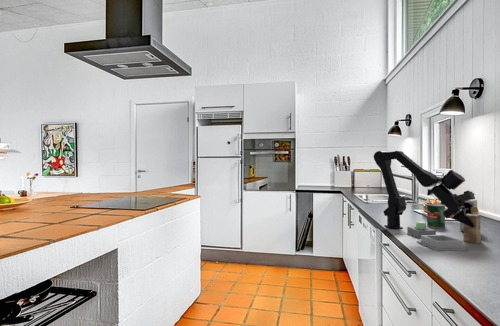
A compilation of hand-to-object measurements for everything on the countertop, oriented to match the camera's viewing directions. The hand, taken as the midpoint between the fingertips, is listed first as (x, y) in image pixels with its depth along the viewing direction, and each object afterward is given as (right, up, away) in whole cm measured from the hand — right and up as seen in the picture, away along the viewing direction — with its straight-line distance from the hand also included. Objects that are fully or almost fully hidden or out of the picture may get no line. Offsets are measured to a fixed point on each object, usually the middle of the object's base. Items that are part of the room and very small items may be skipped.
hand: (476, 226), depth 123 cm
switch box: (-15, -7, +12) cm, 21 cm away
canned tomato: (+2, -7, +30) cm, 31 cm away
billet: (-1, -7, +1) cm, 7 cm away
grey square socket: (-17, -7, -5) cm, 19 cm away
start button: (-15, -6, +12) cm, 21 cm away
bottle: (+10, -7, +18) cm, 22 cm away
